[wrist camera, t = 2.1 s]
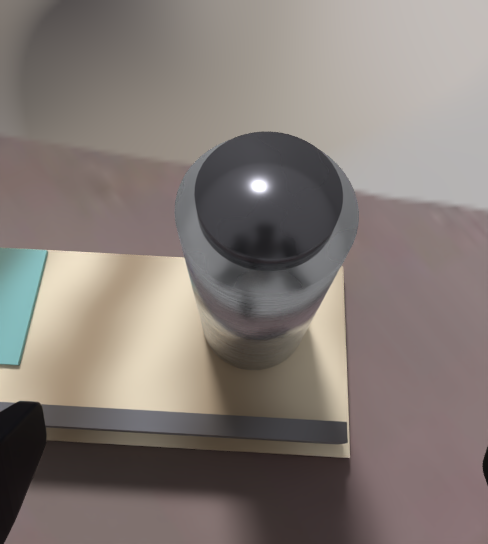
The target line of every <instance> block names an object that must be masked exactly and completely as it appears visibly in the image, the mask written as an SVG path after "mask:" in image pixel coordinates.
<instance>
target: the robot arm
mask: <svg viewBox="0 0 488 544" xmlns="http://www.w3.org/2000/svg"><path fill="white" fill-rule="evenodd" d="M46 439H47V432H46V425H45V419H44V412H43V407H42V405H41V403H39V402H36V401H18V402H16V403H14V404H12V405H11V406H9V407H7V408H6V409H4V410H2V411H0V544H4V542H5V540H6V538H7V536H8V534H9V532H10V530H11V528H12V526H13V524H14V522H15V520H16V518H17V515H18V513H19V511H20V508H21V506H22V503H23V501H24V498H25V496H26V493H27V490H28V488H29V485H30V483H31V480H32V478H33V475H34V473H35V470H36V468H37V465H38V463H39V460H40V458H41V455H42V452H43V450H44V447H45V444H46ZM483 473H484V476H485V479H486V482H487V485H488V447H487V450H486V453H485V456H484V459H483Z"/></svg>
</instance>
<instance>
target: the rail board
mask: <svg viewBox="0 0 488 544" xmlns="http://www.w3.org/2000/svg"><path fill="white" fill-rule="evenodd" d="M18 401H36V402H39V403H41V405H42V407H43V412H44V419H45V425H46V432H47V439H46V440H50V441H67V442H84V443H101V444H118V445H136V446H153V447H170V448H187V449H204V450H221V451H238V452H255V453H273V454H290V455H307V456H324V457H341V458H350V441H349V414H348V387H347V360H346V333H345V306H344V279H343V266H341V267H340V269H339V271H338V273H337V275H336V277H335V278H334V280H333V282H332V284H331V286H330V288H329V290H328V291H327V293H326V295H325V297H324V299H323V301H322V303H321V304H320V306H319V308H318V310H317V312H316V314H315V316H314V318H313V319H312V321H311V323H310V325H309V327H308V329H307V331H306V332H305V334H304V336H303V338H302V340H301V342H300V344H299V345H298V347H297V348H296V350H295V351H294V352H293V353H292V355H291V356H290V357H288V358H287V359H286V360H285V361H283V362H282V363H280V364H278V365H276V366H273V367H271V368H267V369H262V370H246V369H241V368H237V367H235V366H232V365H230V364H228V363H227V362H225V361H224V360H222V359H221V358H220V357H218V356H217V355H216V354H215V353H214V351H213V350H212V349H211V347H210V346H209V344H208V342H207V340H206V338H205V336H204V332H203V328H202V324H201V320H200V316H199V313H198V309H197V305H196V301H195V297H194V293H193V289H192V285H191V281H190V277H189V273H188V270H187V266H186V262H185V258H181V257H163V256H145V255H127V254H109V253H91V252H73V251H55V250H37V249H19V248H1V247H0V411H2V410H4V409H6V408H7V407H9V406H11V405H12V404H14V403H16V402H18Z"/></svg>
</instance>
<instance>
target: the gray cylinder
mask: <svg viewBox="0 0 488 544" xmlns="http://www.w3.org/2000/svg"><path fill="white" fill-rule="evenodd" d="M175 221H176V226H177V230H178V234H179V238H180V242H181V246H182V250H183V254H184V258H185V262H186V266H187V270H188V273H189V277H190V281H191V285H192V289H193V293H194V297H195V301H196V305H197V309H198V313H199V316H200V320H201V324H202V328H203V332H204V336H205V338H206V340H207V342H208V344H209V346H210V347H211V349H212V350H213V351H214V353H215V354H216V355H217V356H218V357H220V358H221V359H222V360H224V361H225V362H227V363H228V364H230V365H232V366H235V367H237V368H241V369H246V370H262V369H267V368H271V367H273V366H276V365H278V364H280V363H282V362H283V361H285V360H286V359H287V358H288V357H290V356H291V355H292V353H293V352H294V351H295V350H296V348H297V347H298V345H299V344H300V342H301V340H302V338H303V336H304V334H305V332H306V331H307V329H308V327H309V325H310V323H311V321H312V319H313V318H314V316H315V314H316V312H317V310H318V308H319V306H320V304H321V303H322V301H323V299H324V297H325V295H326V293H327V291H328V290H329V288H330V286H331V284H332V282H333V280H334V278H335V277H336V275H337V273H338V271H339V269H340V267H341V265H342V264H343V262H344V260H345V258H346V256H347V254H348V252H349V250H350V248H351V247H352V245H353V242H354V239H355V237H356V234H357V228H358V222H359V211H358V203H357V199H356V195H355V192H354V190H353V187H352V185H351V183H350V181H349V180H348V178H347V176H346V175H345V173H344V172H343V171H342V169H341V168H340V167H339V166H338V165H337V164H336V163H335V162H334V161H333V160H332V159H331V158H330V157H329V156H327V155H326V154H325V153H323V152H322V151H321V150H319V149H317V148H316V147H315V146H313V145H312V144H310V143H308V142H307V141H305V140H302V139H300V138H298V137H295V136H292V135H289V134H284V133H278V132H254V133H249V134H245V135H241V136H238V137H235V138H233V139H231V140H228V141H225V142H223V143H221V144H219V145H217V146H215V147H213V148H212V149H210V150H209V151H207V152H206V153H205V154H203V155H202V156H201V157H200V158H199V159H198V160H197V161H196V162H195V163H194V164H193V165H192V166H191V167H190V169H189V170H188V171H187V173H186V174H185V176H184V178H183V180H182V182H181V184H180V186H179V189H178V192H177V196H176V201H175Z"/></svg>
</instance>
